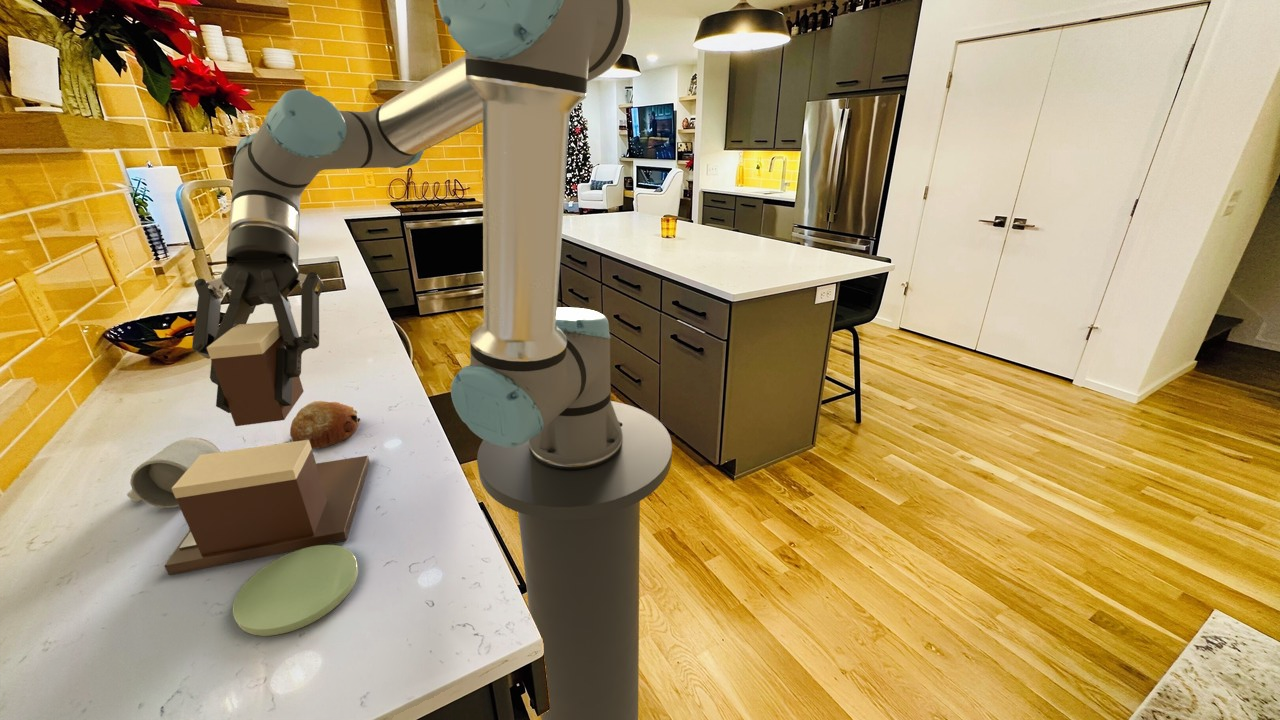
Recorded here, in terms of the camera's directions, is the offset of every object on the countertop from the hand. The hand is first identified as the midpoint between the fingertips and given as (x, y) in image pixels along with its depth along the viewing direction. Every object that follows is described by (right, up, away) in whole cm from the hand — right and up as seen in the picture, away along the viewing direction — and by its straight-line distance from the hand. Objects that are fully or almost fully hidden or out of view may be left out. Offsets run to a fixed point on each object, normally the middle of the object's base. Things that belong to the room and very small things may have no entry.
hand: (255, 405), depth 58 cm
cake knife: (-12, -15, +9) cm, 22 cm away
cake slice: (-1, -1, +4) cm, 4 cm away
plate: (+6, -21, -1) cm, 22 cm away
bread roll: (-10, -8, +30) cm, 33 cm away
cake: (-3, -16, +7) cm, 18 cm away
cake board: (-5, -16, +12) cm, 20 cm away
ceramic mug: (-23, -14, +15) cm, 31 cm away
